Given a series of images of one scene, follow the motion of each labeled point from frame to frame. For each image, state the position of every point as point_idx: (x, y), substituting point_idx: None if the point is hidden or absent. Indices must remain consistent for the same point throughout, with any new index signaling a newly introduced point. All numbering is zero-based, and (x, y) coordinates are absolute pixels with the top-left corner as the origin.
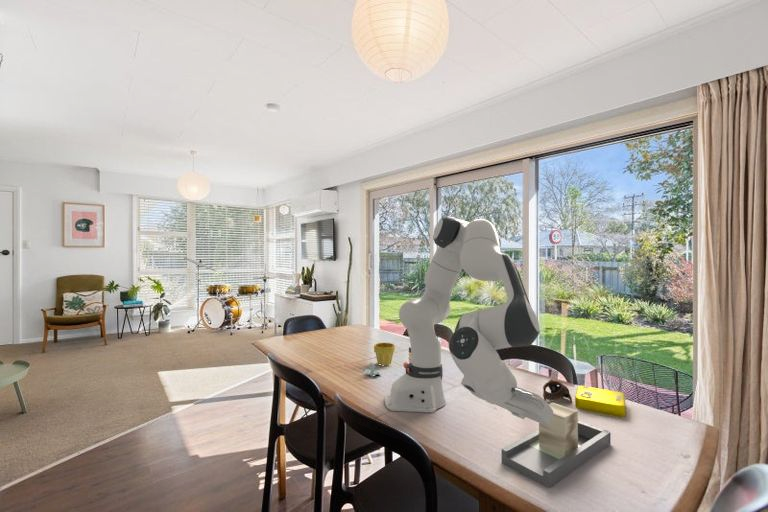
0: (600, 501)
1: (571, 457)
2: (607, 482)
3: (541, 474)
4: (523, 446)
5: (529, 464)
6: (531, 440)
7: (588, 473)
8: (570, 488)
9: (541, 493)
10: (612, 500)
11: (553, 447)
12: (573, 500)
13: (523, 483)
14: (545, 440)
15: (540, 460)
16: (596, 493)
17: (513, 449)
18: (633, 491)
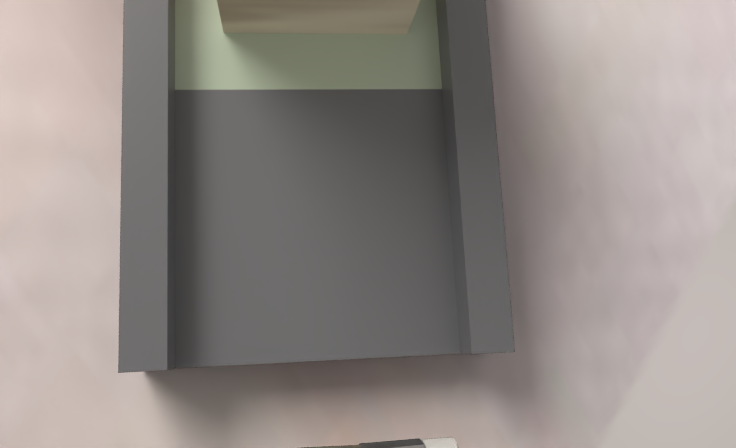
0: (684, 227)
1: (485, 58)
2: (617, 38)
3: (443, 346)
4: (173, 150)
5: (330, 310)
6: (170, 42)
7: (521, 36)
8: (547, 251)
9: (488, 435)
10: (707, 169)
11: (332, 19)
12: (613, 337)
13: None
14: (272, 7)
15: (343, 202)
16: (639, 178)
17: (170, 277)
18: (718, 14)
